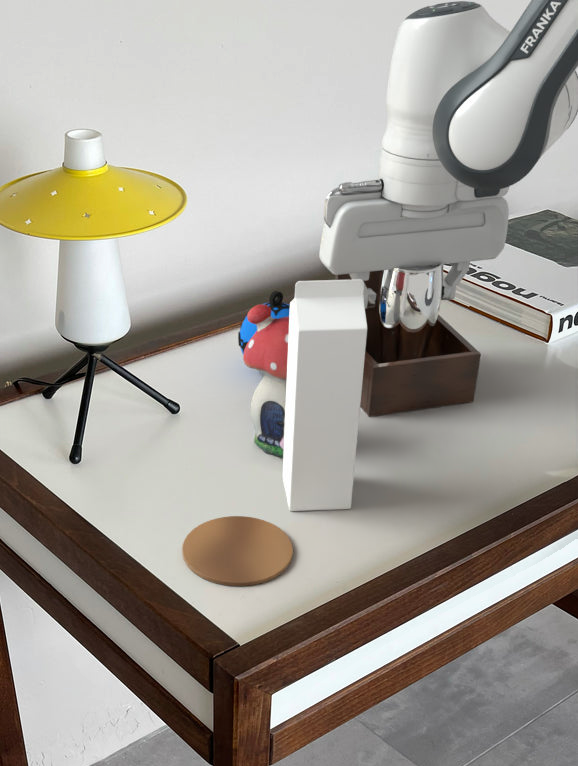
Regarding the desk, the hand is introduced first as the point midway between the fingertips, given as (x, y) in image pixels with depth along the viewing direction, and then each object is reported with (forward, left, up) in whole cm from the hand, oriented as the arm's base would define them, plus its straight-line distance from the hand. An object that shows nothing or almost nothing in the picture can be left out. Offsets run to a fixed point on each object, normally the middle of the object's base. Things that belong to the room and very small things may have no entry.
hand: (405, 302), depth 112 cm
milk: (+17, +19, -10) cm, 27 cm away
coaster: (+27, +26, -10) cm, 39 cm away
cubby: (0, 0, -10) cm, 10 cm away
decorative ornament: (+17, +9, -10) cm, 22 cm away
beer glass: (0, 0, -10) cm, 10 cm away
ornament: (+13, -7, -10) cm, 18 cm away
